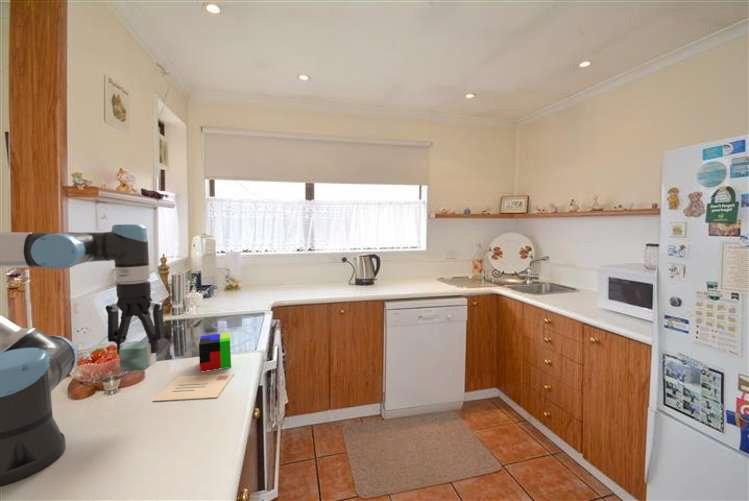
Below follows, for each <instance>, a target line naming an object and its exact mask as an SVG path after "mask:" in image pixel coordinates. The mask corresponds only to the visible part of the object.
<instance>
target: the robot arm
mask: <svg viewBox="0 0 749 501" xmlns="http://www.w3.org/2000/svg"><path fill="white" fill-rule="evenodd" d="M149 255H150V254H149V240H148V232H147V227H146V226H145V225H144V224H137V223H135V224H129V223H128V224H127V223H126V224H125V223H124V224H113V225H112V226H111V231H105V232H98V231H97V232H94V231H93V232H90V231H89V232H88V231H87V232H83V231H82V232H24V231H23V232H21V231H20V232H17V231H16V232H15V231H0V269H6V268H7V269H9V268H10V269H11V268H12V269H13V268H18V269H19V268H21V269H22V268H37V269H38V268H42V269H43V268H46V269H52V270H64V269H69V268H73V267H74V266H76V265H80V264H81V265H82V264H84V263H90V262H91V263H94V262H107V261H108V262H111V261H113V262H114V271H115V272H114V273H115V281H116V282H117V284H116V285H115V286H116V287H115V288H116V297H117V302H116V303H112V304H108V305H106V306H105V311H106V313H107V341H108V342H110V343H112V342H113V343H115V344H116V350H117V352H116V353H117V355H118V356H119V349H121V348H123V347H125V346H126V345H128V344H130V341H129V340H128V338H127V335H128V333H129V328H130V325H131V320H132V319H133V317H137V318H138V320H139V321H140V322H141V325H142V326H143V329H144V331H145V334H146V336H147V339H148V340H147V341H148V342H147V343H146V347H147V362H148V366H150V367H152V366H154V364H156V363H157V361H156V358H157V352H159V340H161V339H163V338H164V337H165V336H166V330H165V322H164V321H165V320H164V315H163V314H164V313H163V309H164V302H163V301H160V302H157V301H153V299H152V296H151V294H152V288H151V287H152V286H151V281H149V280H150V279H151V271H150V261H149V260H150V256H149ZM150 308H151V311H152V316H153V319H152V318H151V312H150V310H149V309H150ZM119 311H121V314H120V312H119ZM119 314H120V321H119ZM77 361H78V350H77V347H76V346H75V344H74V343H73V342H72V341H71V340H69V339H68V338H66V337H63V336H60V335H47V334H46V333H44V332H43V331H41V330H39V329H38V328H37V327H29V328H25V327H24V328H22V327H21V326H19V325H17V324H16V323H15V322H13V321H11V320H10V319H7V318H6V317H5V316H3V315H1V314H0V487H1V486H5V485H8V484H11V483H14V482H17V481H19V480H22V479H25V478H27V477H29V476H32V475H33V474H35V473H37V472H40V471H42V470H44V469H45V468H46V467H48V466H50V465H51V464H52V463H54V462H56V460H58V459H59V458H60V457H61V456H62V455H63V454H64V453H65V451H66V449H67V446H66V445H67V444H66V437H65V435H64V433H62V431H61V430H60V428H59V426H58V424H57V422H56V420H55V419H54V415H53V402H52V400H53V399H52V391H53V390H54V389H56V388H57V386H58V385H59V384H60V383H61V382H63V380H64V379H66V378H67V377H68V376H69V375H70V374H71V373H72V371H73V369H74V367H75V365H76V363H77Z"/></svg>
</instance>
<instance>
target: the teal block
mask: <svg viewBox="0 0 749 501" xmlns="http://www.w3.org/2000/svg"><path fill="white" fill-rule="evenodd" d="M148 341H149V340H143V341H132V342H129V344H128V345H126V346H125V347H123V348H121V349H119V355H118V357H119V368H120V369H119V370H120V372H138V371H139V372H140V371H142V372H143V371H146V370H147V369H149V368H150V367H151V366H148V362H147V347H146V343H147V342H148ZM156 362H157V357H156Z"/></svg>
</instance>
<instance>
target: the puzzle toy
mask: <svg viewBox="0 0 749 501" xmlns="http://www.w3.org/2000/svg"><path fill="white" fill-rule="evenodd" d="M231 351H232V350H231V333H230V332H223V333H216V334H206V335H200V338H199V343H198V354H199V355H198V356H199V358H198V359H199V373H202V372H201V371H205V372H208V371H207V370H212V371H215V370H214V369H218V370H220V369H219V368H224V369H226V368H225V367H230V368H232V356H231V354H232V352H231Z"/></svg>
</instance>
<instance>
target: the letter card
mask: <svg viewBox="0 0 749 501" xmlns="http://www.w3.org/2000/svg"><path fill="white" fill-rule="evenodd" d="M232 376H235V374H234V373H221V374H204V375H203V374H202V375H184V376H177V377H176V378H175V379H174V380H173V381H172V382H171V383H170V384H169V385H167V387H166V388H165V389H164V390H162V391H161V392H160V394H158V395H157V396H156V397H155V398H154V399H153V400H152V402H154V403H155V402H168V401H169V402H172V401H173V402H174V401H186V400H204V399H206V400H208V399H218V398H219V396H220V395H221V393H222V392H223V391H224V389H225V388H226V386H227V385H228V384H229V382H230V381H231V380H232V378H233V377H232ZM229 380H230V381H229Z"/></svg>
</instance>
